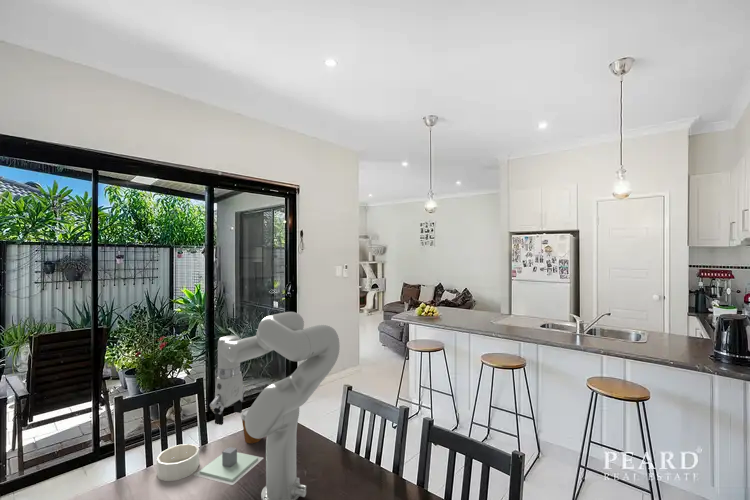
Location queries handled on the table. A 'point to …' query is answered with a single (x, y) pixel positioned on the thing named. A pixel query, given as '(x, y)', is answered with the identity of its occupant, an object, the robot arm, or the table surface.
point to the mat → (227, 480)
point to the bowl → (177, 462)
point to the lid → (229, 465)
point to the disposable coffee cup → (247, 437)
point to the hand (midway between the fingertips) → (228, 417)
